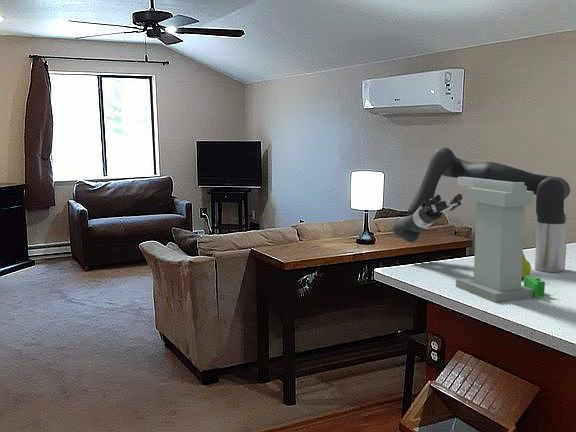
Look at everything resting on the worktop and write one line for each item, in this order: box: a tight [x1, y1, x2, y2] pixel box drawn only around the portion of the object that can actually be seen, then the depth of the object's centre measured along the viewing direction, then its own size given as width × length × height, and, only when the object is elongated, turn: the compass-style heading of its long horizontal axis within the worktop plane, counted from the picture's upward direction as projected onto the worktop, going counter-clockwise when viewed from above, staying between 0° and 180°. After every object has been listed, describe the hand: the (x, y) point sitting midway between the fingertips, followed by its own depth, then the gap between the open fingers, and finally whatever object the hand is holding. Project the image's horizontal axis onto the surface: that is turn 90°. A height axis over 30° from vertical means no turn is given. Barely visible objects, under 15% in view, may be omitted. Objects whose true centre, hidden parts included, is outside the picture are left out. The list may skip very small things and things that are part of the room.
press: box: [455, 182, 534, 303], centre depth 179 cm, size 14×19×35 cm
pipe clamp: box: [523, 274, 546, 299], centre depth 179 cm, size 11×4×5 cm, turn 174°
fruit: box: [522, 252, 532, 279], centre depth 198 cm, size 7×7×12 cm
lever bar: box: [456, 177, 513, 188], centre depth 182 cm, size 3×26×3 cm, turn 19°
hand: (450, 196), depth 200 cm, fingers open, 8 cm apart
